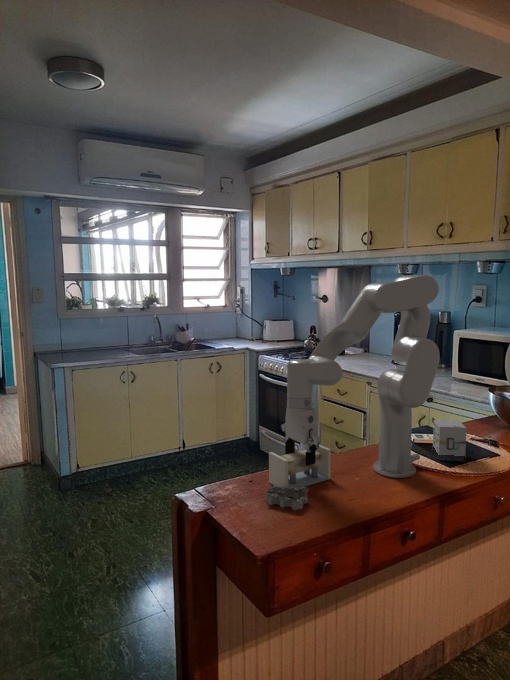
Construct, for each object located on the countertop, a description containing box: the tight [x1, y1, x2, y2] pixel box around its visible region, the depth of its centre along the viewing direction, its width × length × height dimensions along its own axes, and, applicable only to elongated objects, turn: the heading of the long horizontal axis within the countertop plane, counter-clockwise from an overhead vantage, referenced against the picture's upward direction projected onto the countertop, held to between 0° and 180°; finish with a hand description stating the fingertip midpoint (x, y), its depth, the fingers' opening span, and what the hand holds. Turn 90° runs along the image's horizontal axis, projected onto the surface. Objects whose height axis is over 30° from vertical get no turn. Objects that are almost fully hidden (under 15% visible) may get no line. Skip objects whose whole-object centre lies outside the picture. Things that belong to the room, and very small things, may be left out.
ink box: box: [432, 419, 467, 457], centre depth 156 cm, size 8×8×12 cm
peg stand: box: [268, 444, 332, 488], centre depth 138 cm, size 17×8×9 cm, turn 122°
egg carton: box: [264, 484, 309, 511], centre depth 125 cm, size 11×8×4 cm
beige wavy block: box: [280, 449, 321, 475], centre depth 138 cm, size 12×5×4 cm, turn 122°
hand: (300, 459), depth 138 cm, fingers open, 9 cm apart
